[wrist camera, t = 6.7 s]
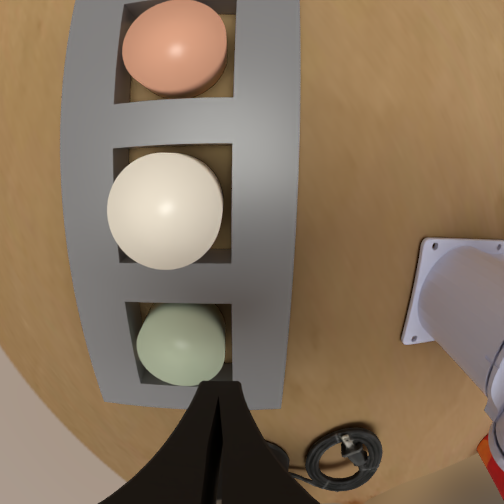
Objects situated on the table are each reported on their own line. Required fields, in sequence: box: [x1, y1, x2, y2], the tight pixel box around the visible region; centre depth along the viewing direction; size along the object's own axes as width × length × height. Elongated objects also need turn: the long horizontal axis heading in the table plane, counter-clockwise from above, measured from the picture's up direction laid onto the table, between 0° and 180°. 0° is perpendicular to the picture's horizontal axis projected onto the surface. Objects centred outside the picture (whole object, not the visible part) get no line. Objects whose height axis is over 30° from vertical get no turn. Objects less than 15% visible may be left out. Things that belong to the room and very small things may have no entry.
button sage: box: [137, 303, 226, 386], centre depth 18 cm, size 5×5×3 cm
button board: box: [60, 0, 300, 410], centre depth 16 cm, size 12×26×2 cm, turn 179°
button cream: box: [107, 153, 224, 270], centre depth 14 cm, size 5×5×3 cm
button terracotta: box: [122, 0, 227, 99], centre depth 13 cm, size 5×5×3 cm
